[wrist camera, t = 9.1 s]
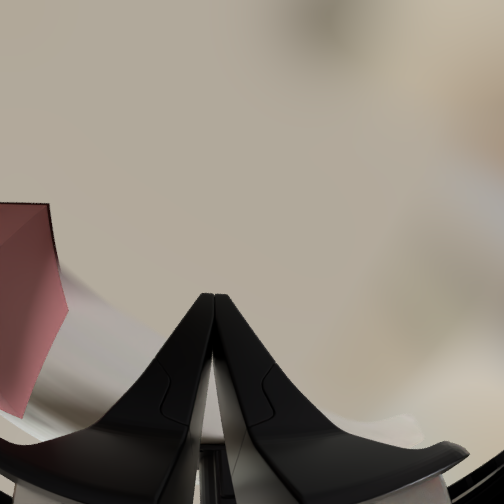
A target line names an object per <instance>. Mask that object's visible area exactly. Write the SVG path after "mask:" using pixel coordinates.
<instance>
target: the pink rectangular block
mask: <svg viewBox="0 0 504 504" xmlns="http://www.w3.org/2000/svg"><path fill="white" fill-rule="evenodd" d="M57 265H58V266H59V267H60V264H59V259H58V255H57V250H56V244H55V239H54V232H53V226H52V219H51V212H50V204H49V203H26V202H0V409H1V410H3V411H5V412H7V413H9V414H12V415H14V416H16V417H19V418H21V419H22V418H23V415H24V412H25V409H26V406H27V403H28V400H29V398H30V395H31V392H32V390H33V387H34V385H35V382H36V380H37V377H38V375H39V372H40V370H41V368H42V365H43V363H44V361H45V359H46V356H47V354H48V352H49V350H50V348H51V345H52V343H53V341H54V339H55V337H56V335H57V333H58V331H59V329H60V327H61V325H62V323H63V321H64V319H65V317H66V315H67V313H68V311H69V310H68V307H67V303H66V300H65V296H64V292H63V289H62V285H61V281H60V277H59V272H58V268H57Z"/></svg>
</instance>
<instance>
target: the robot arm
mask: <svg viewBox="0 0 504 504" xmlns="http://www.w3.org/2000/svg"><path fill="white" fill-rule="evenodd" d="M212 356H213V367H214V375H215V382H216V389H217V396H218V403H219V409H220V416H221V422H222V428H223V434H224V440H225V445H200V441H201V433H202V426H203V419H204V411H205V404H206V397H207V390H208V383H209V377H210V370H211V363H212ZM469 455H470V453H469V452H468V451H467V450H466V449H465V448H463V447H462V446H460V445H457V444H455V443H451V442H448V441H443V442H440V443H437V444H435V445H433V446H430V447H428V448H424V449H406V448H401V447H396V446H392V445H388V444H384V443H380V442H377V441H373V440H369V439H366V438H362V437H359V436H356V435H352V434H349V433H347V432H345V431H343V430H342V429H340V428H338V427H337V426H336V425H334V424H333V423H332V422H331V421H330V420H329V419H328V418H327V417H326V416H325V415H323V414H322V413H321V412H320V411H319V410H318V409H317V408H316V407H315V406H314V405H313V404H312V403H311V402H310V401H309V400H308V399H307V398H306V397H305V396H304V395H303V394H302V393H301V392H300V391H299V390H298V389H297V388H296V386H295V385H294V384H293V383H292V382H291V381H290V380H289V378H287V376H286V375H285V373H284V372H283V371H282V369H281V368H280V367H279V365H278V364H277V363H276V362H275V360H274V359H273V357H272V356H271V355H270V353H269V352H268V351H267V349H266V348H265V347H264V345H263V344H262V342H261V341H260V340H259V338H258V337H257V335H255V333H254V331H253V330H252V329H251V327H250V326H249V324H248V323H247V322H246V320H245V319H244V317H243V316H242V314H241V313H240V312H239V310H238V309H237V308H236V306H235V304H234V303H233V302H232V300H231V299H230V297H229V296H228V295H227V294H215V296H214V294H212V293H202V294H200V296H199V297H198V298H197V300H196V301H195V302H194V304H193V305H192V307H191V308H190V309H189V311H188V312H187V313H186V315H185V316H184V318H183V319H182V320H181V322H180V323H179V324H178V326H177V327H176V328H175V330H174V331H173V333H172V334H171V335H170V337H169V338H168V339H167V341H166V342H165V344H164V345H163V346H162V348H161V349H160V350H159V352H158V353H157V355H156V356H155V358H154V359H153V360H152V361H151V363H150V364H149V366H148V367H147V368H146V370H145V371H144V372H143V373H142V375H141V376H140V377H139V378H138V380H137V381H136V382H135V383H134V384H133V385H132V386H131V387H130V388H129V390H128V391H127V392H126V393H125V394H124V395H123V396H122V397H121V398H120V399H119V400H118V401H117V402H116V403H115V404H114V405H113V406H112V407H111V408H110V409H109V410H108V411H107V412H106V413H105V414H104V415H103V416H102V417H101V418H100V419H99V420H98V421H97V422H96V423H94V424H93V425H91V426H89V427H88V428H85V429H83V430H80V431H77V432H74V433H71V434H68V435H65V436H61V437H58V438H55V439H52V440H48V441H45V442H41V443H38V444H33V445H17V444H13V443H10V442H8V441H6V440H4V439H2V438H0V474H1V475H3V476H4V477H6V478H8V479H9V480H11V481H12V482H14V483H15V488H14V493H13V497H11V496H9V495H7V494H6V493H4V492H2V491H0V504H193V497H194V489H195V488H194V487H195V480H196V472H197V470H199V479H200V504H504V450H503V451H501V452H500V453H499V454H497V455H496V456H495V457H493V458H492V459H491V460H489V461H488V462H486V463H485V464H483V465H482V466H480V467H479V468H477V469H476V470H475V471H473V472H471V473H470V474H468V475H467V476H465V477H463V478H462V479H460V480H458V481H457V482H455V483H453V484H452V485H450V486H448V487H447V486H446V484H445V481H444V479H443V476H442V474H443V473H445V472H446V471H448V470H449V469H451V468H452V467H454V466H455V465H457V464H458V463H460V462H461V461H463V460H464V459H465V458H467V457H468V456H469Z"/></svg>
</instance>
